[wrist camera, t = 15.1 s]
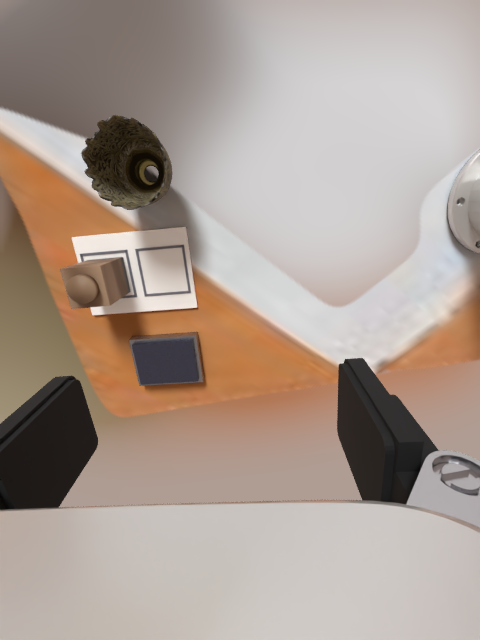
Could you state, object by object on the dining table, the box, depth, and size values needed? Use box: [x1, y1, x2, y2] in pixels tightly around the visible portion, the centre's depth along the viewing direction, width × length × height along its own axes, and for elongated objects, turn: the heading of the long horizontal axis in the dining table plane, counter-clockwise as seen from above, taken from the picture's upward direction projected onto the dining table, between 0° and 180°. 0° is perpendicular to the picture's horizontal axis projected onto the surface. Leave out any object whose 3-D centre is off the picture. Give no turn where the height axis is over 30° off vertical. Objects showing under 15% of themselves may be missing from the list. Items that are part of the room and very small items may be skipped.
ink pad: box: [129, 332, 204, 386], centre depth 41 cm, size 9×7×2 cm
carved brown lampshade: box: [82, 115, 172, 210], centre depth 31 cm, size 8×7×8 cm
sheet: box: [72, 227, 198, 315], centre depth 38 cm, size 14×10×1 cm
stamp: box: [60, 257, 131, 309], centre depth 35 cm, size 4×4×7 cm
